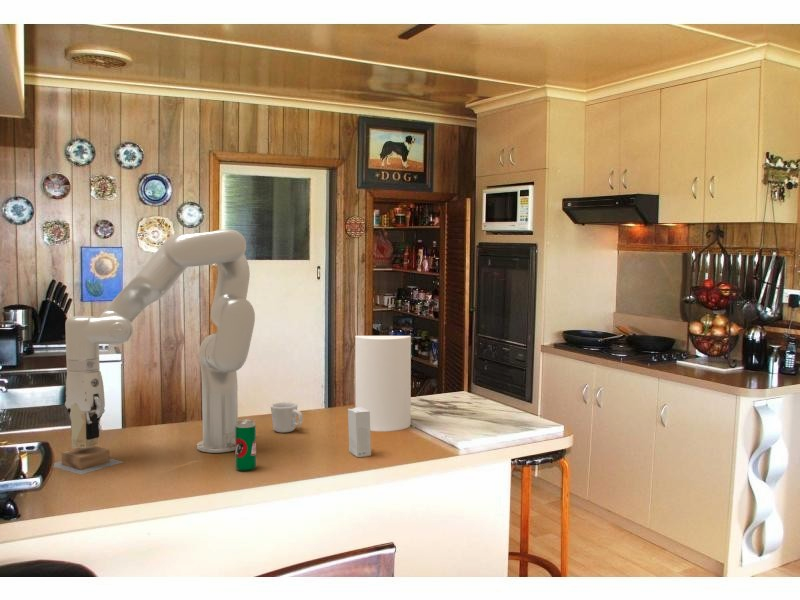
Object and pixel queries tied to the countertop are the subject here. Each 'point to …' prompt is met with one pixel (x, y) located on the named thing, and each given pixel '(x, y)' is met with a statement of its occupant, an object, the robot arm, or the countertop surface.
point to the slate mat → (111, 463)
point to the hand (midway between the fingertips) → (85, 435)
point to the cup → (285, 416)
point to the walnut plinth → (85, 457)
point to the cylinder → (384, 380)
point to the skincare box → (359, 432)
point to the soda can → (245, 445)
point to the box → (80, 428)
